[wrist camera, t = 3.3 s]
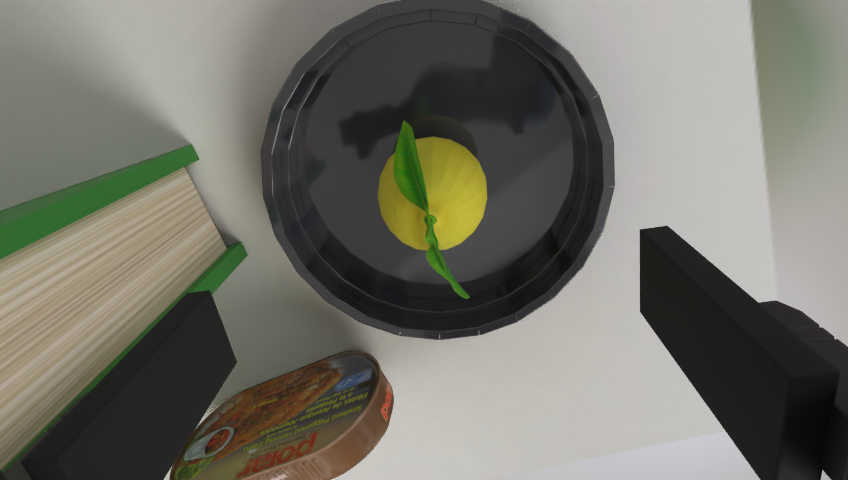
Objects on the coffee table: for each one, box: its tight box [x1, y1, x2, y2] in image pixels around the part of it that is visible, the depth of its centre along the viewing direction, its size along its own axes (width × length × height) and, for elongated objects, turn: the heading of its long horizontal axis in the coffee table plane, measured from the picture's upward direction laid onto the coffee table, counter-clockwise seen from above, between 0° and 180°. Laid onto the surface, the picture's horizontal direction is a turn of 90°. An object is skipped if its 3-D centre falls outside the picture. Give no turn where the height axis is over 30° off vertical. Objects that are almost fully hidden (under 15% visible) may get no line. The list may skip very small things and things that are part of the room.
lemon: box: [378, 120, 487, 299], centre depth 24 cm, size 7×6×10 cm
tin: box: [170, 351, 394, 480], centre depth 31 cm, size 15×3×8 cm, turn 115°
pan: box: [261, 0, 615, 340], centre depth 27 cm, size 18×18×4 cm
